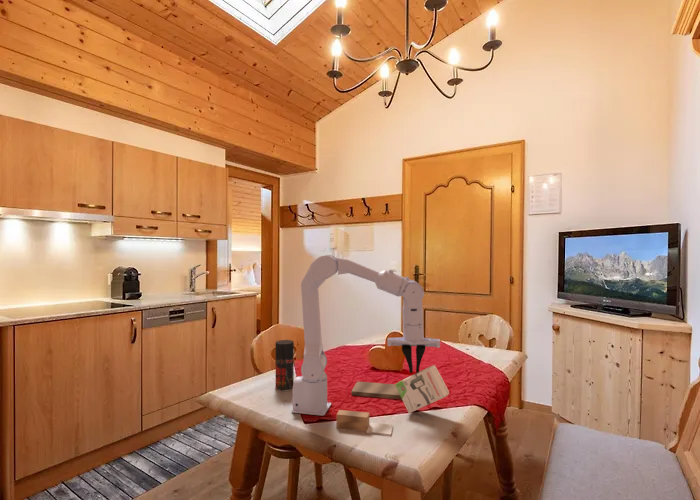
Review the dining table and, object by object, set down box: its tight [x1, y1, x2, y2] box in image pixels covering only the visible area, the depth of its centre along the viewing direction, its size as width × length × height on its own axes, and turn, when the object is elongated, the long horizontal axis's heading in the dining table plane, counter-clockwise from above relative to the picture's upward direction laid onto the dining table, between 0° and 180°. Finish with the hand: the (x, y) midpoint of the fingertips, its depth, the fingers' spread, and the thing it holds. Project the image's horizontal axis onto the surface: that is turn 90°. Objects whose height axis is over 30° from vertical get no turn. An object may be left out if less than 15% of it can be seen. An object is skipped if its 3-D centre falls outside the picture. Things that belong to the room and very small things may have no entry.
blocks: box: [336, 409, 394, 437], centre depth 95 cm, size 14×5×4 cm, turn 77°
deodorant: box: [275, 339, 295, 392], centre depth 123 cm, size 6×6×15 cm
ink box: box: [395, 364, 450, 414], centre depth 103 cm, size 9×5×12 cm
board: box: [350, 381, 402, 400], centre depth 119 cm, size 18×9×1 cm, turn 77°
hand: (414, 371), depth 105 cm, fingers closed
